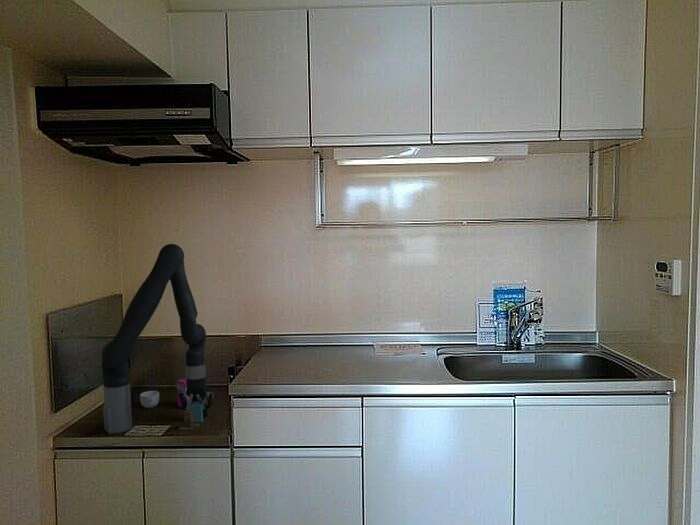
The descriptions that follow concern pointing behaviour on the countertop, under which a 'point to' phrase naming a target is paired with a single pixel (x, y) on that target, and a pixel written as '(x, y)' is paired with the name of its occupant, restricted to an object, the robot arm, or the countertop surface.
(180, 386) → the supplement box
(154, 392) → the teacup
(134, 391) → the countertop surface
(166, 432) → the countertop surface
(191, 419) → the dark stepped block
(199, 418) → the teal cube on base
